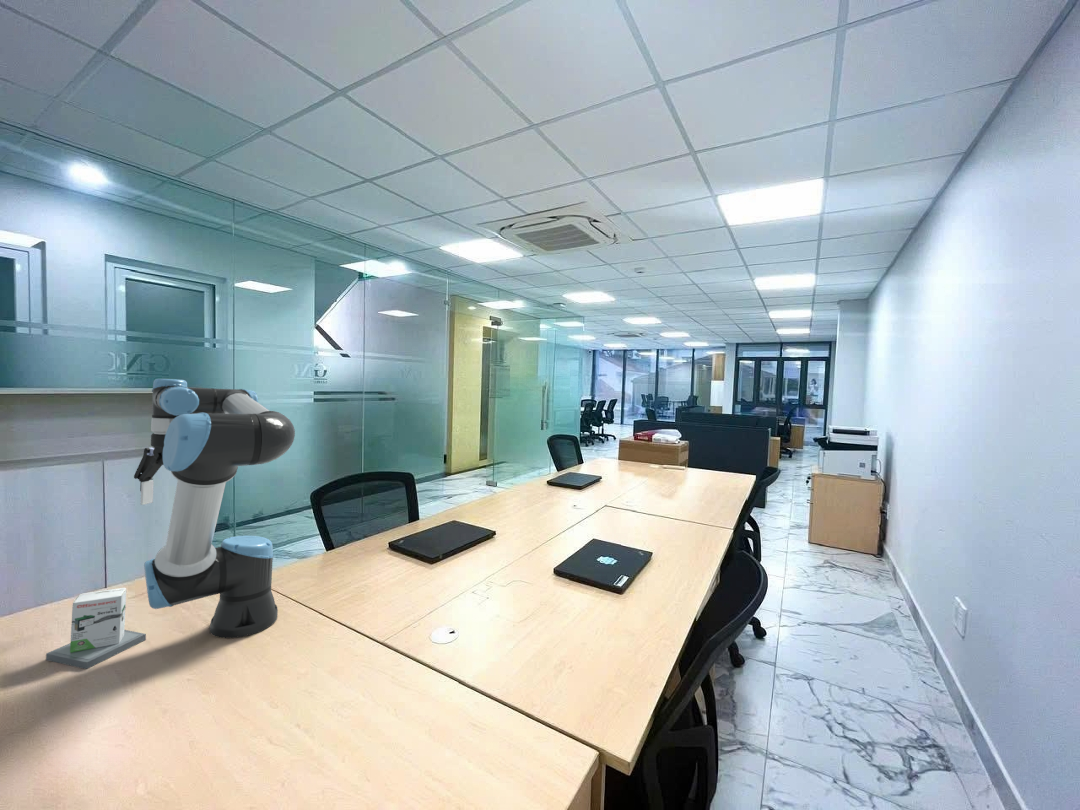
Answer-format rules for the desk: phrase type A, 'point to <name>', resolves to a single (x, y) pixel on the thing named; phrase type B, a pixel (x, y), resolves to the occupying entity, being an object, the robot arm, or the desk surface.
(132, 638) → the slate pad
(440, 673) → the desk surface
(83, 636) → the ink box
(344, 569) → the desk surface
